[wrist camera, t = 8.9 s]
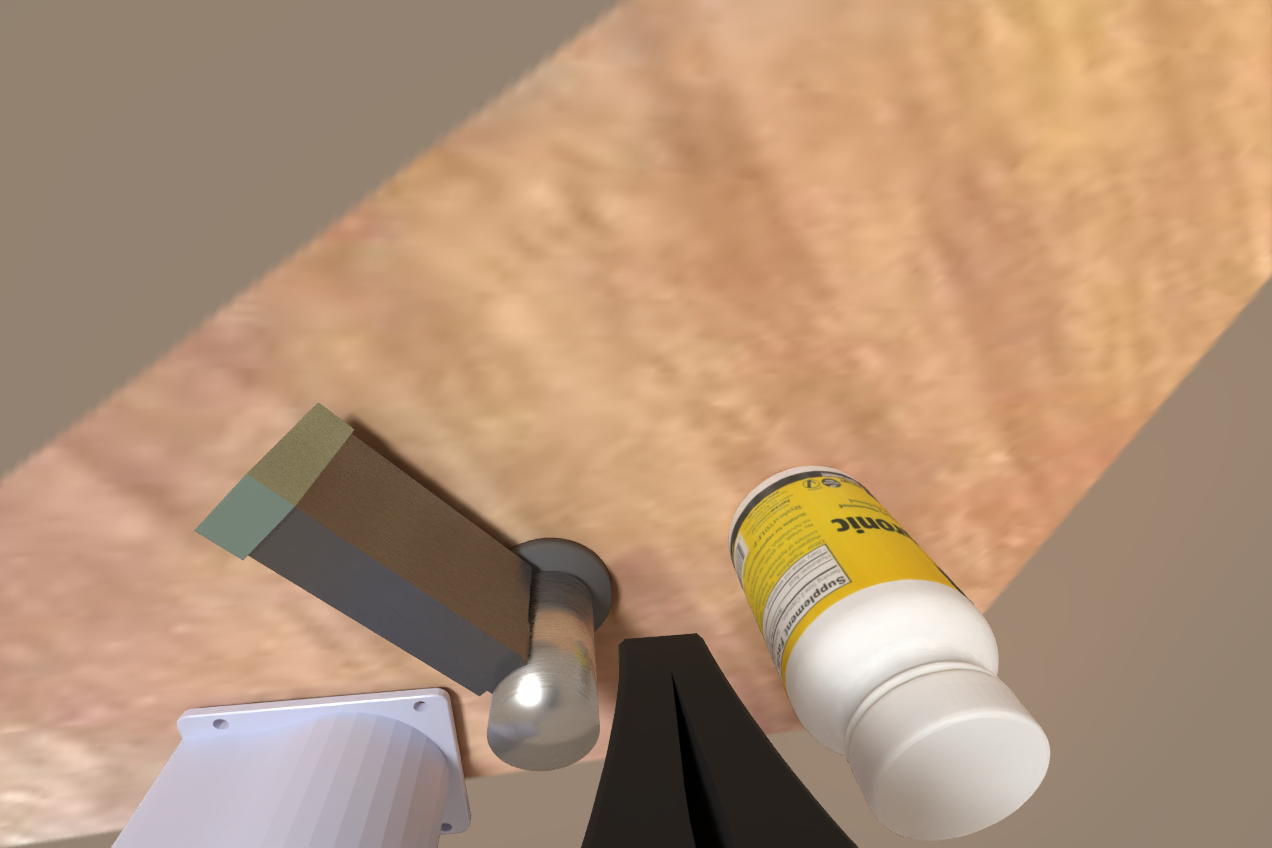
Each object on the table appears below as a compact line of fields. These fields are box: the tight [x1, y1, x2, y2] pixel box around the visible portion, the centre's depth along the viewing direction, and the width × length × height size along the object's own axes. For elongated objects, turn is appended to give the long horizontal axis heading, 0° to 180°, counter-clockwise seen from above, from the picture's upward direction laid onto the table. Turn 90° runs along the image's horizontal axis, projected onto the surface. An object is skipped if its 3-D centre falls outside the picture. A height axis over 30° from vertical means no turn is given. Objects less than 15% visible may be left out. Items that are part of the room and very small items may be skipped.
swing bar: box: [194, 403, 600, 771], centre depth 17 cm, size 11×3×5 cm, turn 43°
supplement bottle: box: [728, 466, 1050, 840], centre depth 17 cm, size 5×5×10 cm
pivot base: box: [510, 538, 612, 632], centre depth 21 cm, size 4×4×1 cm
